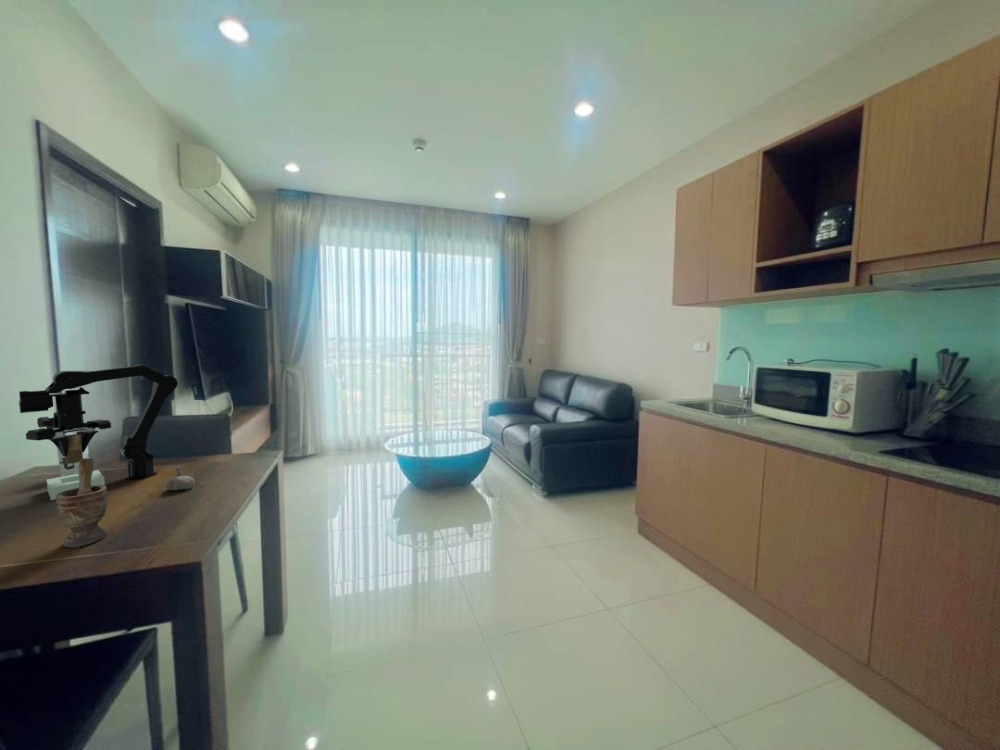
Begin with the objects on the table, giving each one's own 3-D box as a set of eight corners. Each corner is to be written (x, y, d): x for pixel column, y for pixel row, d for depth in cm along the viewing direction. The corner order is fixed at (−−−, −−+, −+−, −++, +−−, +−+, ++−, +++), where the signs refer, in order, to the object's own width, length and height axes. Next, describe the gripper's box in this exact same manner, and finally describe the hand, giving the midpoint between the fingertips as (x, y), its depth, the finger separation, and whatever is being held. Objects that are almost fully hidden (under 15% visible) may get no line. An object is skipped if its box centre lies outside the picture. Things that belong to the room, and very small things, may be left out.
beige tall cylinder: (86, 459, 129) (84, 434, 128) (74, 463, 125) (71, 437, 124) (74, 459, 129) (72, 434, 128) (61, 463, 125) (59, 437, 124)
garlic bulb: (161, 491, 128) (159, 468, 127) (185, 483, 135) (184, 462, 134) (176, 494, 125) (174, 471, 125) (200, 486, 132) (198, 464, 132)
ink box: (72, 473, 143) (69, 443, 142) (90, 471, 146) (88, 442, 145) (60, 481, 136) (57, 449, 135) (79, 479, 138) (76, 447, 137)
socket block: (99, 480, 136) (98, 470, 136) (105, 488, 129) (104, 477, 129) (47, 491, 127) (46, 479, 126) (50, 500, 120) (49, 488, 119)
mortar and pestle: (54, 539, 97) (47, 463, 95) (102, 525, 104) (96, 455, 102) (64, 553, 91) (57, 472, 89) (114, 537, 98) (108, 462, 96)
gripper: (88, 403, 136) (91, 445, 138) (11, 412, 118) (16, 460, 120) (110, 404, 134) (114, 447, 135) (36, 414, 116) (41, 463, 117)
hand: (73, 454), depth 127 cm, fingers closed on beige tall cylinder, 4 cm apart
